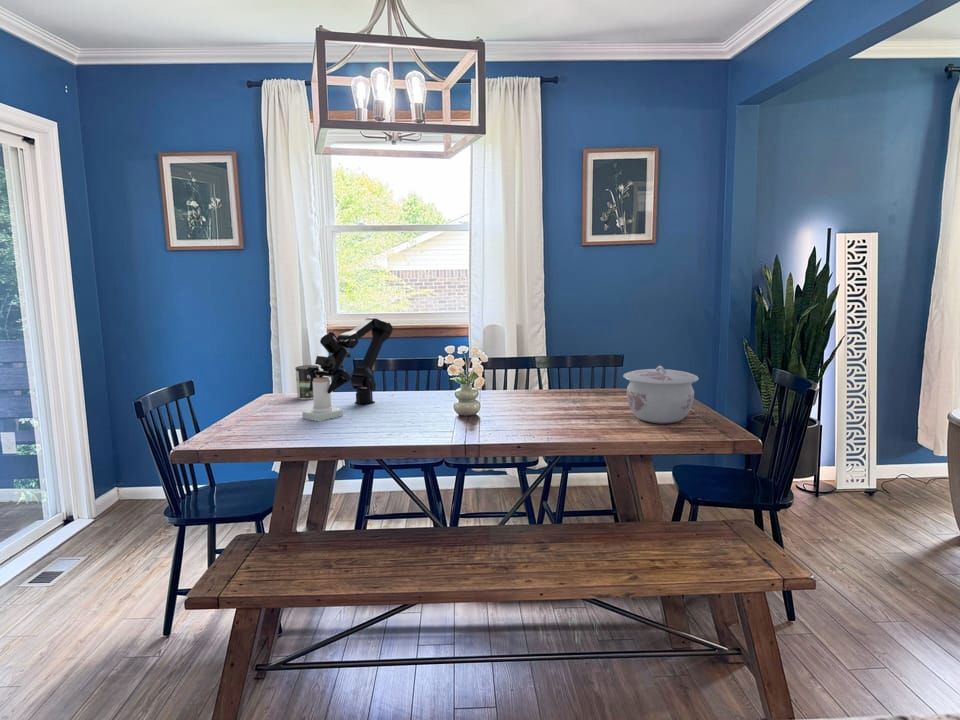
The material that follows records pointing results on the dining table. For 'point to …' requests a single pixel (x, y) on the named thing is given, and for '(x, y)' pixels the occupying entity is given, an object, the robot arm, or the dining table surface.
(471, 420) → the dining table surface
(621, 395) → the dining table surface
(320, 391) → the cream jar
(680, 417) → the chamber pot
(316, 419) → the sage block
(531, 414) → the dining table surface
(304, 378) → the coffee can
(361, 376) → the robot arm
